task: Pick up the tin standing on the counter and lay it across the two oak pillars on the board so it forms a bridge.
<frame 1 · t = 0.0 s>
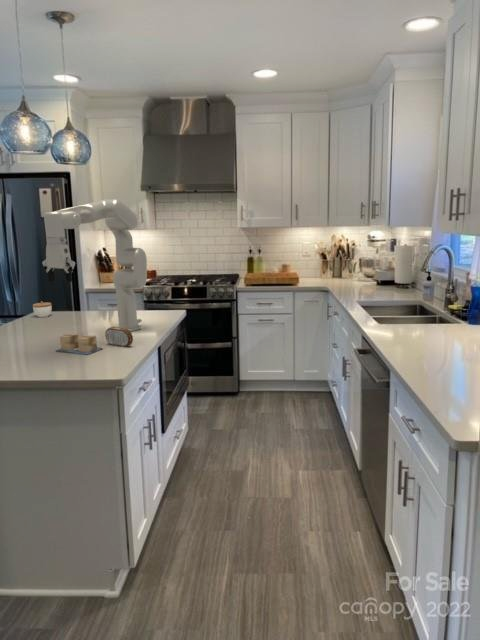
hand: (60, 281, 214), 31 cm above the countertop, tool pointing down, fingers open, 9 cm apart
tin: (119, 346, 229), on the countertop
bridge base: (79, 350, 222), on the countertop
lidded jar: (43, 316, 302), on the countertop
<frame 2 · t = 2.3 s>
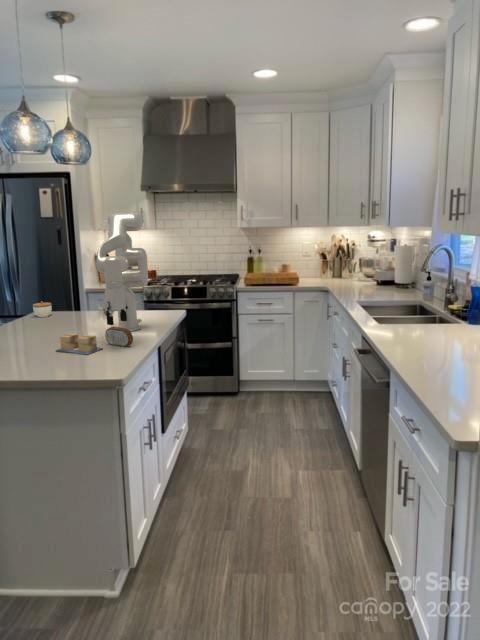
hand: (117, 322, 226), 11 cm above the countertop, tool pointing down, fingers open, 9 cm apart
nothing on the countertop moved.
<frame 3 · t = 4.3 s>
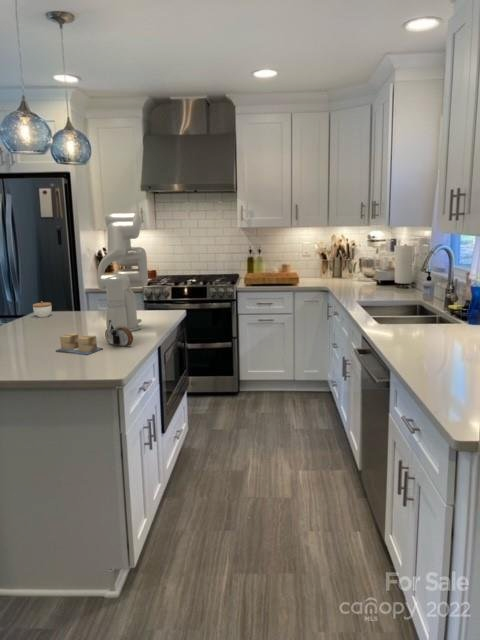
hand: (119, 342, 228), 1 cm above the countertop, tool pointing down, fingers closed on tin, 3 cm apart
tin: (119, 345, 228), on the countertop, touching gripper
everything else where it was.
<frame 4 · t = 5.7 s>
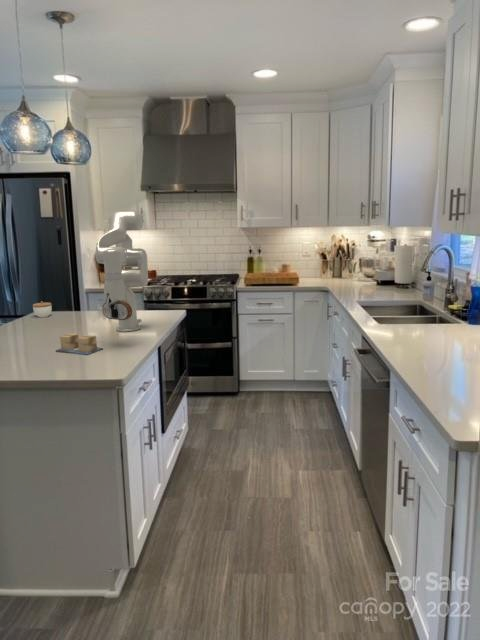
hand: (117, 316, 226), 13 cm above the countertop, tool pointing down, fingers closed on tin, 2 cm apart
tin: (117, 319, 227), point 12 cm above the countertop, touching gripper
everything else where it was.
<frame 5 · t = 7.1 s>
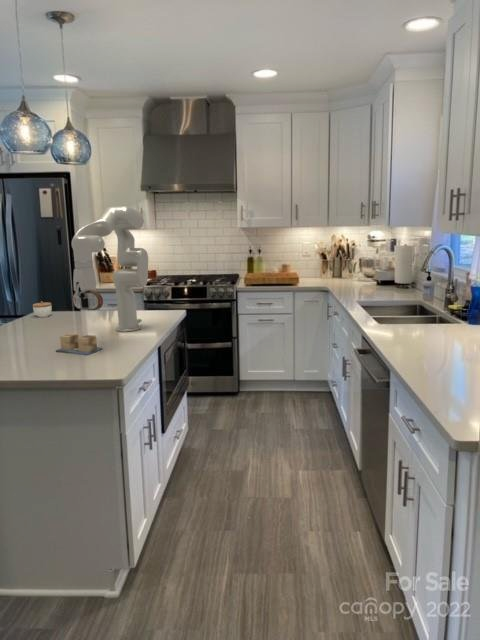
hand: (87, 306, 219), 19 cm above the countertop, tool pointing down, fingers closed on tin, 2 cm apart
tin: (87, 310, 220), point 18 cm above the countertop, touching gripper
everything else where it was.
when the fingers open (9 cm above the countertop, at t = 9.1 s): tin drops 1 cm, resting on bridge base.
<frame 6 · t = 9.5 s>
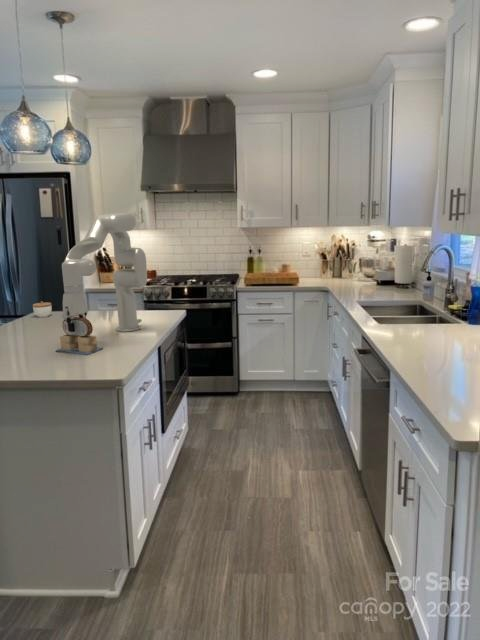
hand: (77, 329, 220), 10 cm above the countertop, tool pointing down, fingers open, 6 cm apart
tin: (77, 336, 220), point 6 cm above the countertop, touching bridge base
everything else where it was.
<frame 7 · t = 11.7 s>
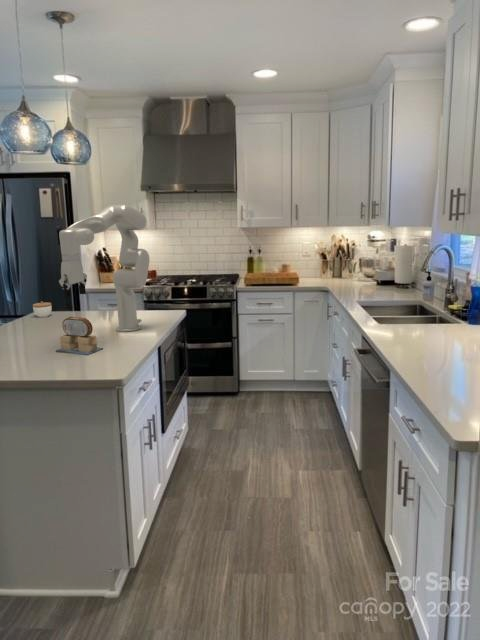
hand: (75, 295, 224), 24 cm above the countertop, tool pointing down, fingers open, 9 cm apart
nothing on the countertop moved.
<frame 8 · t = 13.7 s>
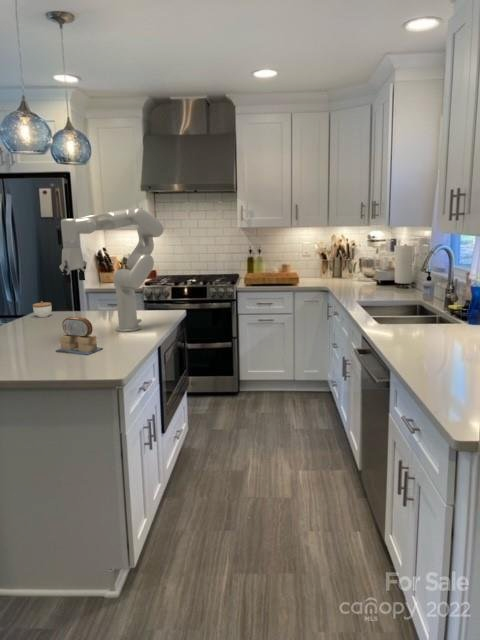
hand: (75, 281, 236), 28 cm above the countertop, tool pointing down, fingers open, 9 cm apart
nothing on the countertop moved.
at the end: tin 0.1 cm off-centre on the bridge base, point 6.4 cm above the bridge base's base; tin tilted 0°; tin touching bridge base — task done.
